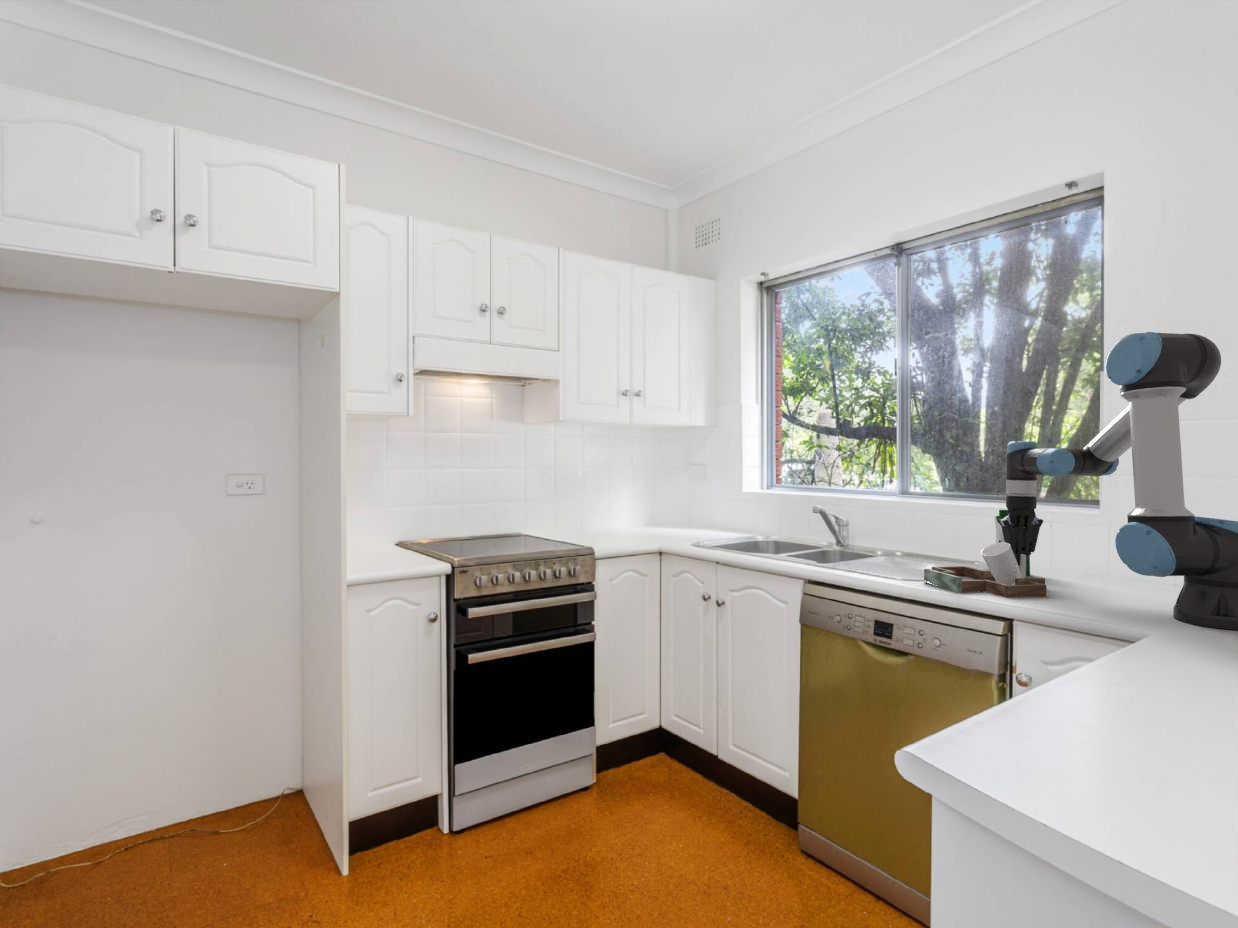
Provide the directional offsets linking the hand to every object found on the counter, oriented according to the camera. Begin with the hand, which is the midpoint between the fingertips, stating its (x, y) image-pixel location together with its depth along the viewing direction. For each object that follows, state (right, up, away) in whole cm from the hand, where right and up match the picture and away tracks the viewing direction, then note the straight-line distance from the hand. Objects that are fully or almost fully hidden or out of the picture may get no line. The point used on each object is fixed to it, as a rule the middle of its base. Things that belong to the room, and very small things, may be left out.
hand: (1020, 576), depth 193 cm
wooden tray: (-11, -2, -3) cm, 12 cm away
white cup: (-3, -1, -1) cm, 4 cm away
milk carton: (+8, -2, +18) cm, 19 cm away
